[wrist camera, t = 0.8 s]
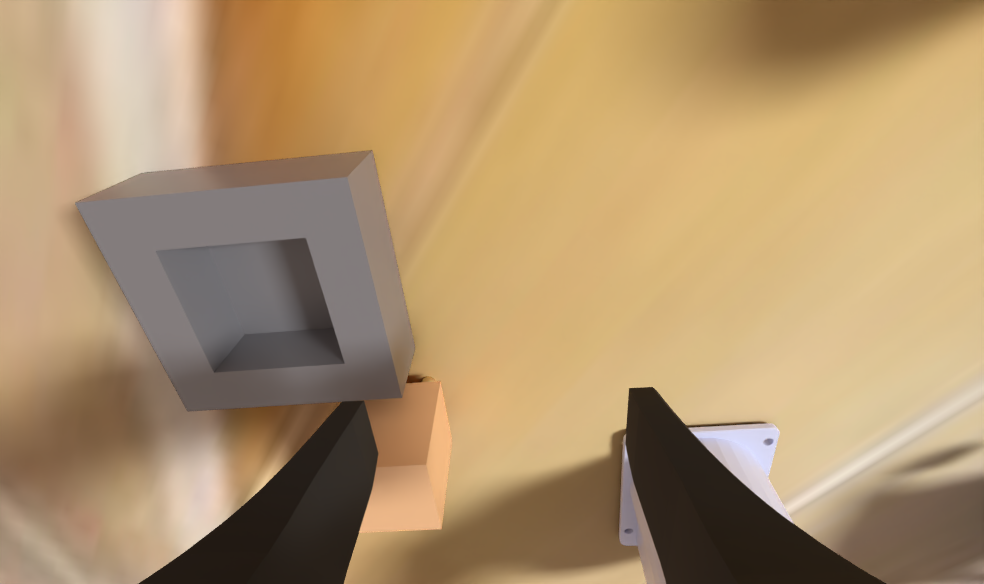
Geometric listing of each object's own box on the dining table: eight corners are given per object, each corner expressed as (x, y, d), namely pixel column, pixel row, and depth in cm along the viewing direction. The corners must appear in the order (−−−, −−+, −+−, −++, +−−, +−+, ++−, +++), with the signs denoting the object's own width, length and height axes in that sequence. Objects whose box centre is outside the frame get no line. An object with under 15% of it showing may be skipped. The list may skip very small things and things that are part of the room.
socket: (415, 347, 24) (402, 398, 21) (227, 360, 25) (187, 411, 22) (372, 150, 19) (346, 176, 16) (141, 173, 20) (74, 202, 17)
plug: (454, 424, 27) (441, 529, 21) (381, 428, 27) (350, 533, 21) (443, 365, 25) (426, 464, 19) (365, 370, 25) (326, 469, 19)
